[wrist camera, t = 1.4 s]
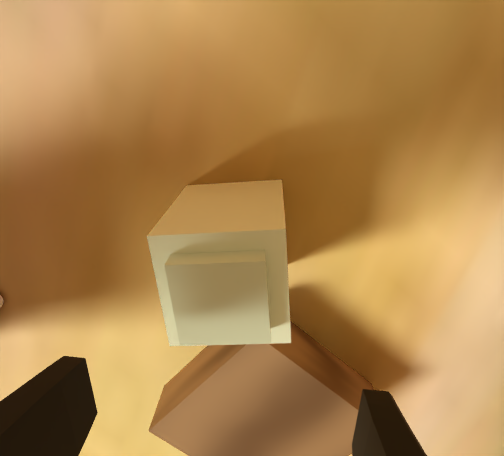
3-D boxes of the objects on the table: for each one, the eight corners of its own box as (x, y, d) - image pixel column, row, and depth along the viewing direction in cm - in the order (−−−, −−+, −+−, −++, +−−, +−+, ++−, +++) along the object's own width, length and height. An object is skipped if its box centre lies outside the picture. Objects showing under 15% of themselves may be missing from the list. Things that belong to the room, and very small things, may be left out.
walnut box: (165, 381, 23) (148, 431, 20) (259, 293, 20) (257, 335, 17) (270, 450, 25) (270, 505, 22) (369, 379, 22) (386, 431, 19)
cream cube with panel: (199, 268, 19) (164, 361, 13) (186, 185, 17) (138, 246, 11) (285, 264, 19) (292, 358, 13) (281, 179, 17) (286, 239, 11)
